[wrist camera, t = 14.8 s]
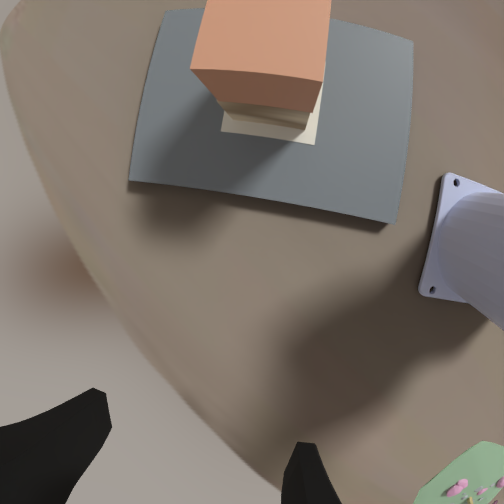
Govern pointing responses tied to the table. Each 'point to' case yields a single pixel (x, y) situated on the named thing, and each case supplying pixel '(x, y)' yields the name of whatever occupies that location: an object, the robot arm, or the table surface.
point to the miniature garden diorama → (467, 478)
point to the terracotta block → (263, 51)
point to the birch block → (266, 114)
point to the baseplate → (279, 137)
